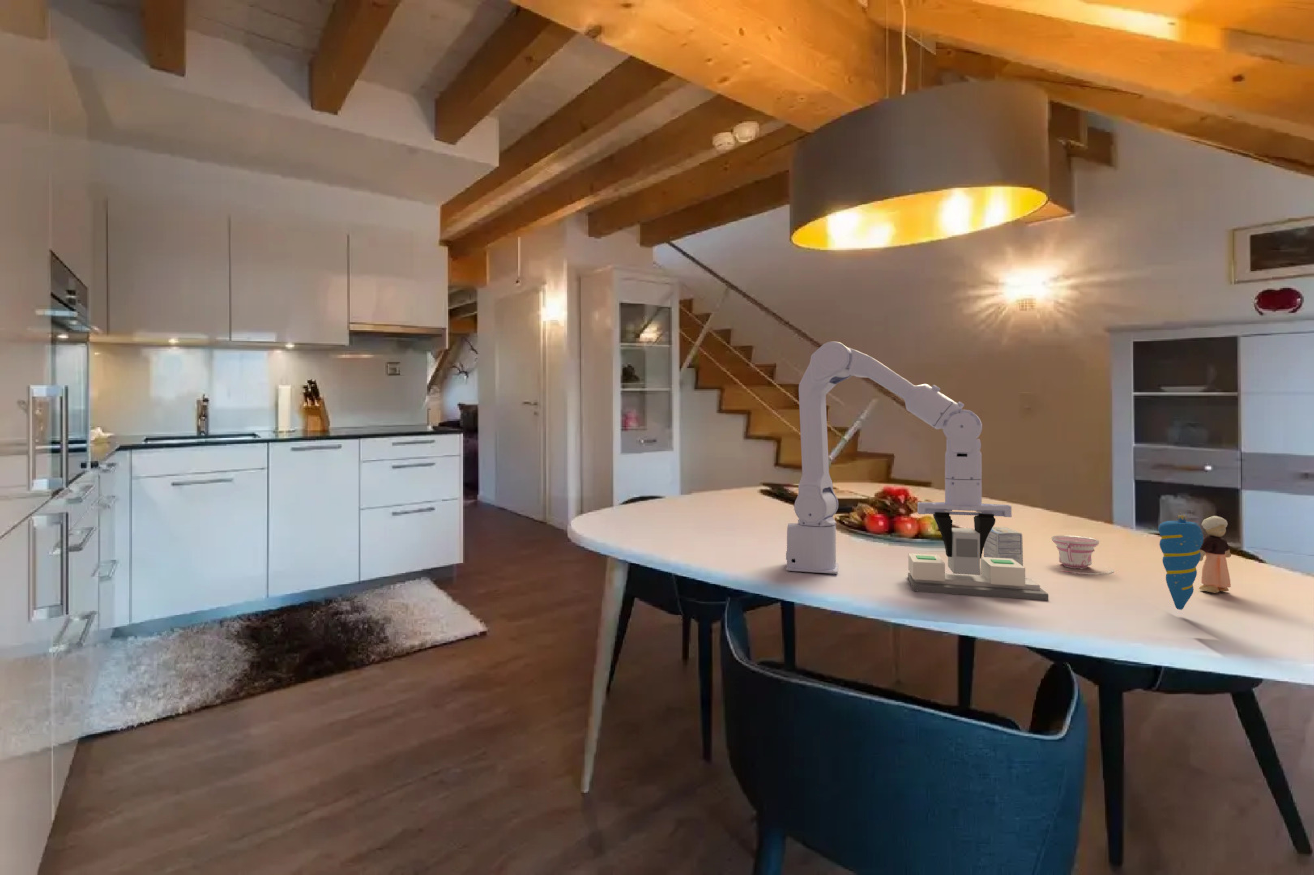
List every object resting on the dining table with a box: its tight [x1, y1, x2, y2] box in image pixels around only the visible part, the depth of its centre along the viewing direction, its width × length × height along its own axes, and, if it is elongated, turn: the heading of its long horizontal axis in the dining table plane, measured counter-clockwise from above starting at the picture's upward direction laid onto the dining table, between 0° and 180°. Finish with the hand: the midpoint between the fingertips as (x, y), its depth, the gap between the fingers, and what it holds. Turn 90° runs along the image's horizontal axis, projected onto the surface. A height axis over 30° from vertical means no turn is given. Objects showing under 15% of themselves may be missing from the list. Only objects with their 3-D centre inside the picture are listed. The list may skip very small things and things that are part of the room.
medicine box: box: [983, 526, 1024, 567], centre depth 114 cm, size 8×4×9 cm, turn 168°
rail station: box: [907, 552, 1049, 601], centre depth 104 cm, size 20×10×5 cm, turn 73°
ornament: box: [1157, 510, 1204, 611], centre depth 91 cm, size 5×5×15 cm
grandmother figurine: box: [1198, 515, 1232, 593], centre depth 103 cm, size 8×4×13 cm, turn 117°
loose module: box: [947, 527, 981, 575], centre depth 104 cm, size 4×6×7 cm, turn 163°
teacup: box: [1047, 534, 1114, 576], centre depth 119 cm, size 12×12×6 cm
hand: (963, 556), depth 105 cm, fingers closed on loose module, 4 cm apart
